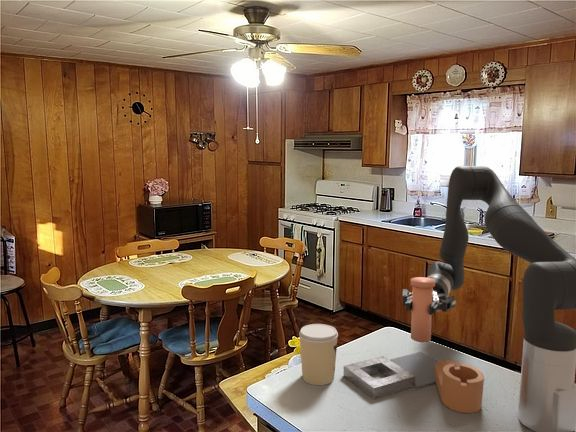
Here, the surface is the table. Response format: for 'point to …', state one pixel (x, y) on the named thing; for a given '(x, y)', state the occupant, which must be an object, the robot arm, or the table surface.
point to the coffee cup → (318, 353)
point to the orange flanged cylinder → (421, 308)
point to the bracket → (459, 386)
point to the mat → (418, 367)
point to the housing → (384, 386)
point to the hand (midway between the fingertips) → (419, 309)
